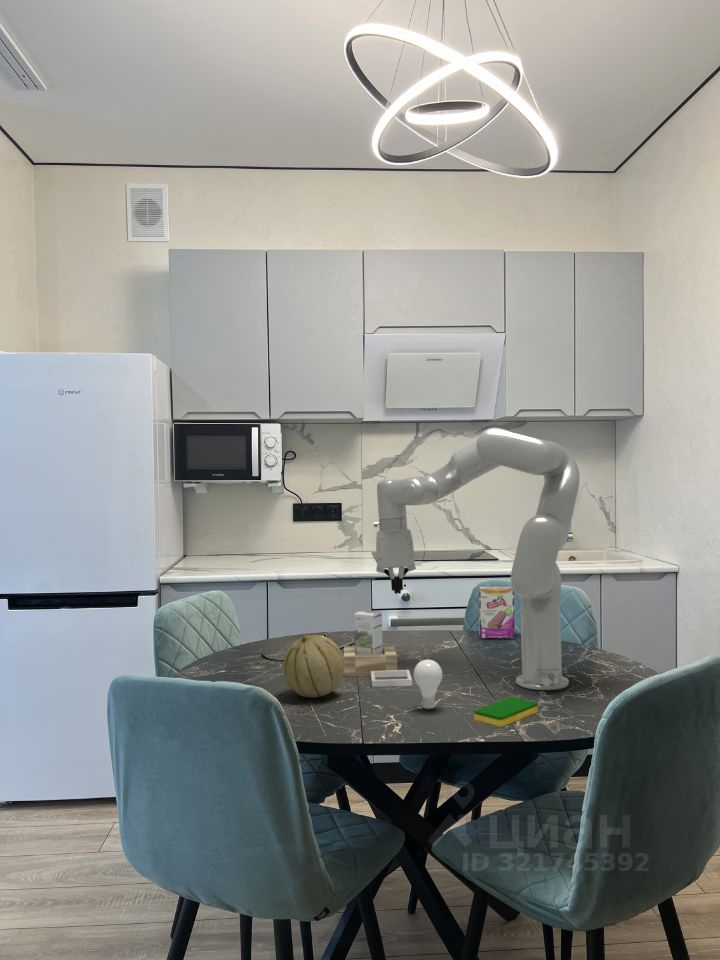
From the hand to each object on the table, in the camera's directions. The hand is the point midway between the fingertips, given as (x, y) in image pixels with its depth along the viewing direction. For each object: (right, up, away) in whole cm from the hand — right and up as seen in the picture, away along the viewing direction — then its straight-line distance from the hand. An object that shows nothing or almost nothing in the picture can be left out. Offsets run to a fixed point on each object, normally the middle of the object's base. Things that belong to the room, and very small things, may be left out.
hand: (397, 593), depth 200 cm
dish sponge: (+21, -21, -41) cm, 51 cm away
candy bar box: (+34, -21, +39) cm, 56 cm away
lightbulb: (+5, -21, -36) cm, 42 cm away
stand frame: (-2, -21, -11) cm, 24 cm away
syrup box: (-7, -20, +2) cm, 22 cm away
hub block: (-7, -21, +2) cm, 23 cm away
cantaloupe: (-21, -21, -23) cm, 38 cm away
